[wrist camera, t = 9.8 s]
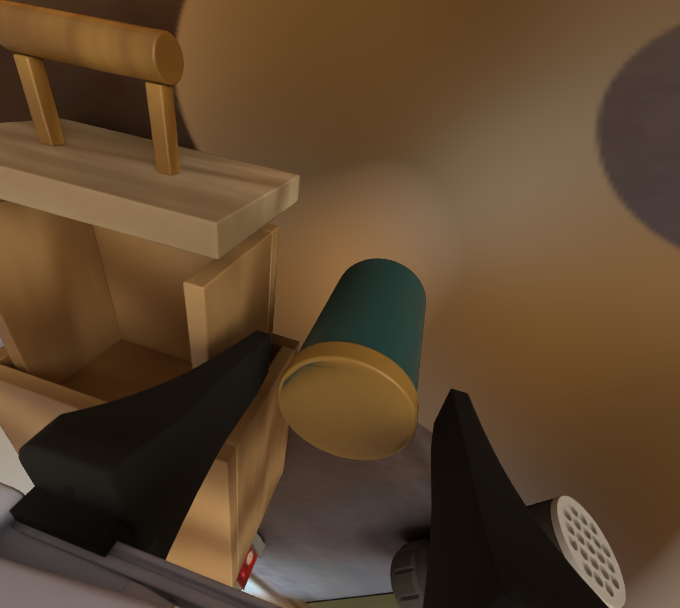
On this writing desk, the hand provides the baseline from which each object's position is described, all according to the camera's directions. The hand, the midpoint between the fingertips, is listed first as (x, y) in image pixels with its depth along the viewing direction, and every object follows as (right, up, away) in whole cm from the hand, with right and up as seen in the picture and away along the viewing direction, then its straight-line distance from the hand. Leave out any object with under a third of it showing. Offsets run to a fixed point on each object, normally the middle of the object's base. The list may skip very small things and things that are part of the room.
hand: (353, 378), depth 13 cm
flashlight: (+11, -14, +13) cm, 22 cm away
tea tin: (+2, +3, +5) cm, 6 cm away
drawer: (-9, +6, +5) cm, 12 cm away
